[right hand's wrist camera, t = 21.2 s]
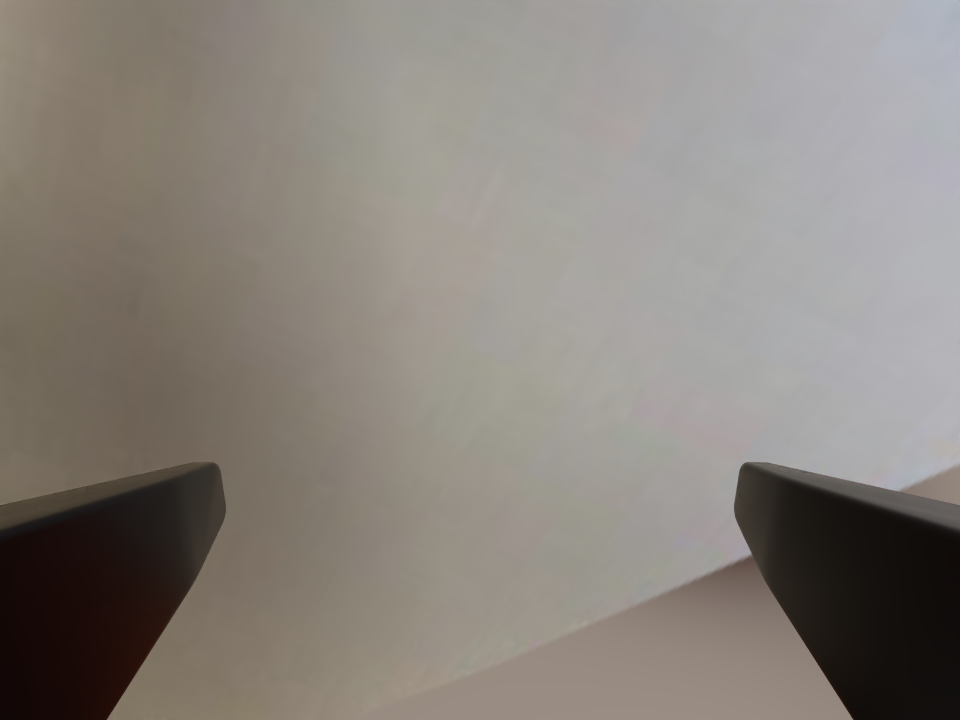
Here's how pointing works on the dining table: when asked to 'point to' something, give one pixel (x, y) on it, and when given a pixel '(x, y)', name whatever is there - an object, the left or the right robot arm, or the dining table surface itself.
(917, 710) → the right robot arm
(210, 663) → the dining table surface
